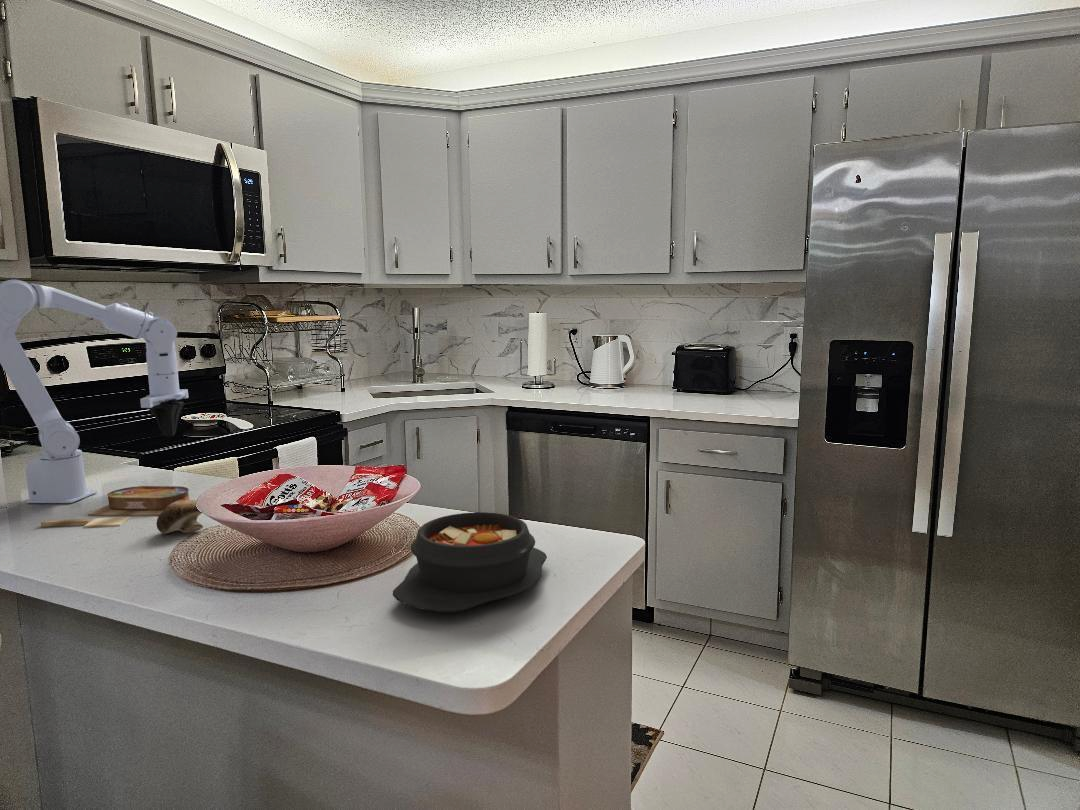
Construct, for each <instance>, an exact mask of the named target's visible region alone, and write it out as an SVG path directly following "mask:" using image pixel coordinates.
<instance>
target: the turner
mask: <svg viewBox="0 0 1080 810" xmlns="http://www.w3.org/2000/svg"><path fill="white" fill-rule="evenodd" d="M131 519H132V516H118V517H117V516H116V517H115V516H111V517H95V518H94V519H92V518H73V519H72V518H71V519H49V520H42V521H41V522H40V528H45V527H48V528H49V527H68V526H69V527H71V526H83V528H84V529H85V528H86V529H89V528H91V529H92V528H109V527H110V528H112V527H121V526H123V525H124V524H125V523H127V522H128V521H130V520H131Z"/></svg>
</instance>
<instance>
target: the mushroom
mask: <svg viewBox="0 0 1080 810" xmlns="http://www.w3.org/2000/svg"><path fill="white" fill-rule="evenodd" d="M196 501H197V500H193V499H189V500H178V501H176V502H174V503H171V504H170V505H169V506H168V507H166V508H165V509H164V510H163V511H162V512H161V514H160V515H159V516H157V519H156V522H155V523H156V529H157V530H158V531H159V532H160V533H161V534H164V535H167V534H170V533H174V532H175V531H181V532H182V533H185V534H190V533H194V532H198V531H200V530H202V529H203V528H204V525H202V524H201V523H200V522H198V518H199V516H200V515H202V514H203V512H200V511H199V510H198V509H197V507H196Z"/></svg>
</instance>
